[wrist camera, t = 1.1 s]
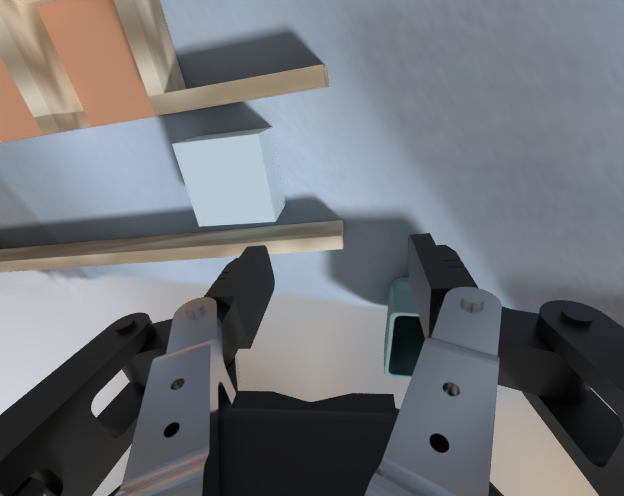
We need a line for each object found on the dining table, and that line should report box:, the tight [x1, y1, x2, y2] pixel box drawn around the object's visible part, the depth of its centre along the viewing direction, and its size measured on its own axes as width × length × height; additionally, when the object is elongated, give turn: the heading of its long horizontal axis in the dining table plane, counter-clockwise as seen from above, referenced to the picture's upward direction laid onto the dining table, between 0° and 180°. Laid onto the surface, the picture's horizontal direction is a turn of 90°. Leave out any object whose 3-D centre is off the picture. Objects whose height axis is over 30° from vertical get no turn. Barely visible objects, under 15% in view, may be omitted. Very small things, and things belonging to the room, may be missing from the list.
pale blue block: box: [172, 127, 286, 227], centre depth 29 cm, size 8×8×5 cm
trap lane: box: [0, 0, 344, 272], centre depth 30 cm, size 26×50×4 cm, turn 98°
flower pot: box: [384, 277, 425, 378], centre depth 32 cm, size 9×9×9 cm
